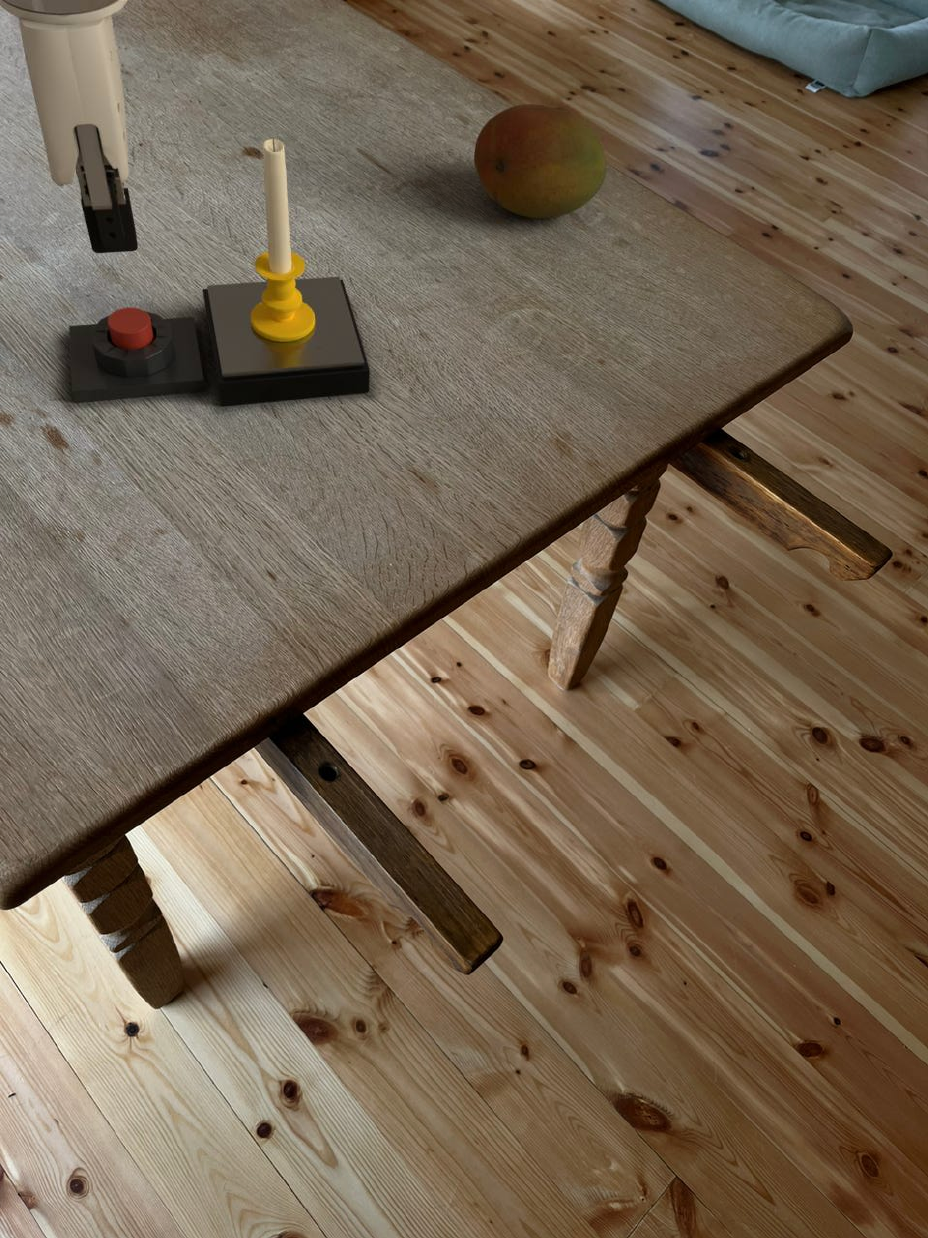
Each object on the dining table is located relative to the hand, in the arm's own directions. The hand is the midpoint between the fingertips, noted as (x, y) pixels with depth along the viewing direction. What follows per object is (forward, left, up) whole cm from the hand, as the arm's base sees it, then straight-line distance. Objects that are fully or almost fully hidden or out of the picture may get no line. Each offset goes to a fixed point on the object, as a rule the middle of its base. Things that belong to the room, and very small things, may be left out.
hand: (115, 245), depth 74 cm
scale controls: (0, 0, -11) cm, 11 cm away
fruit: (+40, +19, -11) cm, 46 cm away
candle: (+12, 0, -8) cm, 14 cm away
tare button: (0, 0, -8) cm, 8 cm away
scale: (+12, 0, -11) cm, 16 cm away
